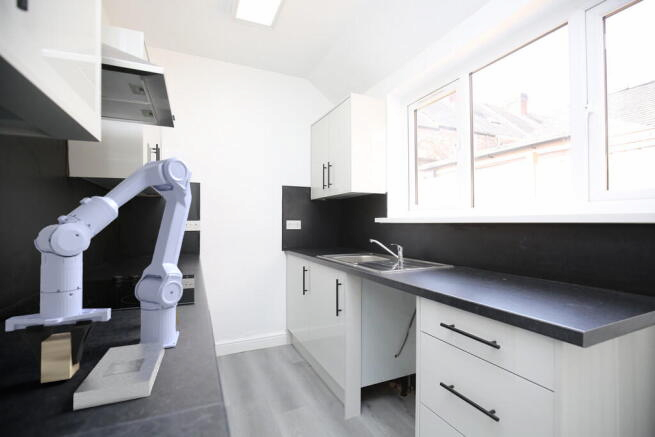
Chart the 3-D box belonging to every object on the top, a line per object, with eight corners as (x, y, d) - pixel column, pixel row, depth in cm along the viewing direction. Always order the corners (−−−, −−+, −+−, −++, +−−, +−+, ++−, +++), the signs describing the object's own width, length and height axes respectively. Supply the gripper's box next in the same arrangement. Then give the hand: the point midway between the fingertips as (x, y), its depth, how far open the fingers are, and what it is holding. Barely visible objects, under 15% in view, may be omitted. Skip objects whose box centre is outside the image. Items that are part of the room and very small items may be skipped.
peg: (52, 372, 55) (52, 334, 55) (78, 368, 57) (79, 331, 57) (40, 382, 51) (41, 342, 51) (69, 378, 53) (70, 339, 53)
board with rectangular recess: (110, 360, 62) (110, 347, 62) (164, 352, 65) (164, 340, 65) (73, 410, 45) (73, 393, 45) (149, 396, 49) (149, 380, 49)
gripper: (-6, 298, 48) (-8, 383, 48) (102, 290, 53) (101, 367, 53) (19, 289, 54) (18, 364, 54) (114, 283, 60) (113, 351, 59)
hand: (60, 364), depth 54 cm, fingers closed on peg, 4 cm apart
